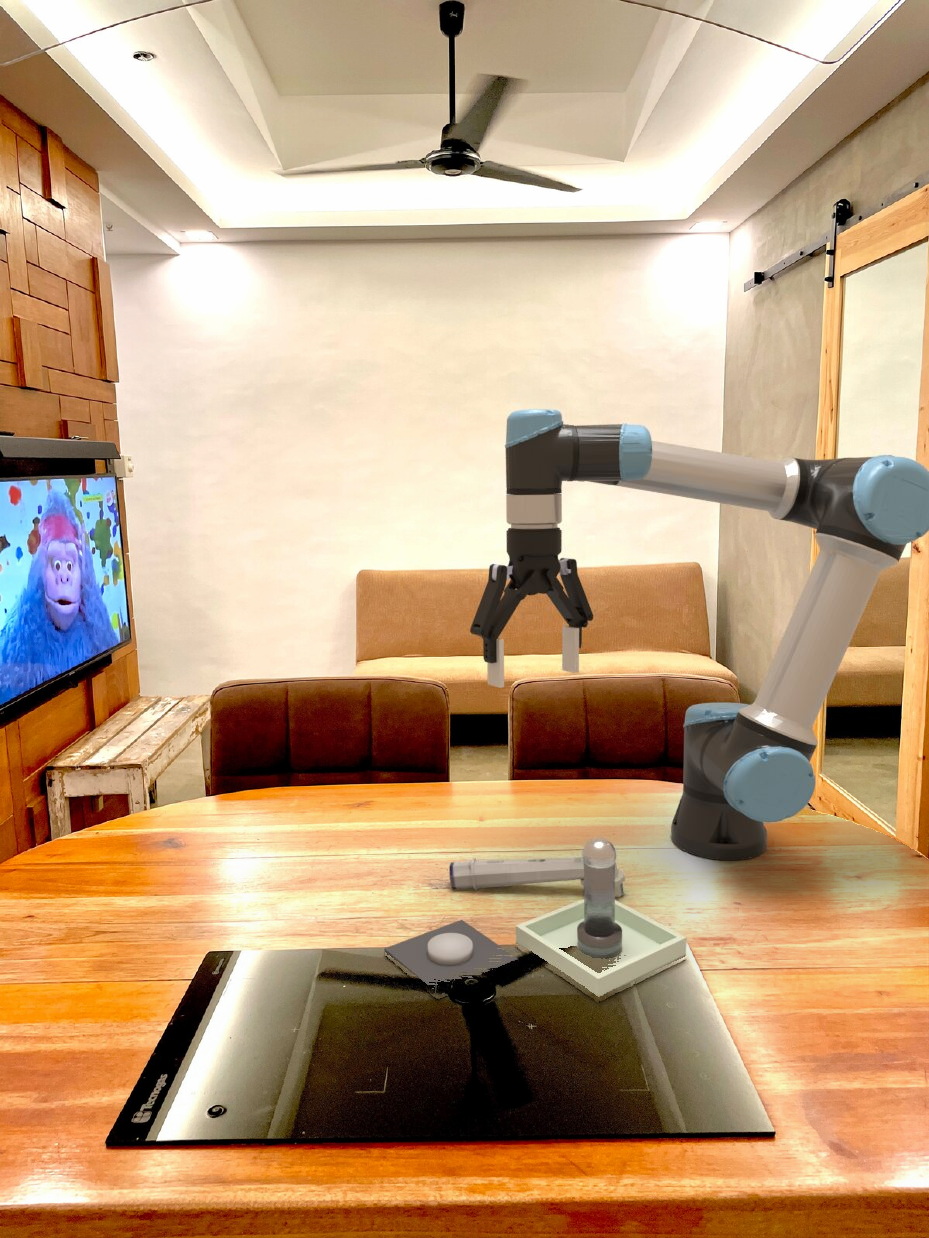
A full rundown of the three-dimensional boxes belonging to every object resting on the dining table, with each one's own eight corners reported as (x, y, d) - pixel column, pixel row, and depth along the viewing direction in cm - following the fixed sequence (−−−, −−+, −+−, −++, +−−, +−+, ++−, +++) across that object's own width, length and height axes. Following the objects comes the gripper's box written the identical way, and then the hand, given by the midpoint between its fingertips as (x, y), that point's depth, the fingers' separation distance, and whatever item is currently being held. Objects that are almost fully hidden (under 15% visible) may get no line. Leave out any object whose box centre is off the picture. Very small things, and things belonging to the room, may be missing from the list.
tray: (600, 912, 121) (600, 892, 120) (685, 959, 109) (686, 937, 108) (516, 947, 112) (515, 925, 112) (598, 1002, 100) (598, 978, 100)
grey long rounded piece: (452, 854, 131) (620, 840, 127) (459, 896, 132) (625, 882, 128) (447, 870, 126) (621, 855, 122) (454, 913, 127) (627, 899, 123)
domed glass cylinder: (600, 930, 114) (599, 826, 112) (631, 949, 110) (631, 840, 107) (568, 944, 111) (566, 837, 109) (598, 964, 106) (598, 852, 104)
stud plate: (461, 926, 118) (461, 911, 117) (517, 965, 108) (517, 949, 108) (384, 955, 111) (384, 939, 110) (437, 1000, 101) (436, 982, 101)
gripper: (582, 521, 129) (581, 661, 132) (442, 529, 115) (445, 686, 118) (619, 523, 123) (617, 670, 126) (476, 531, 109) (478, 697, 112)
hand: (534, 678), depth 122 cm, fingers open, 13 cm apart
